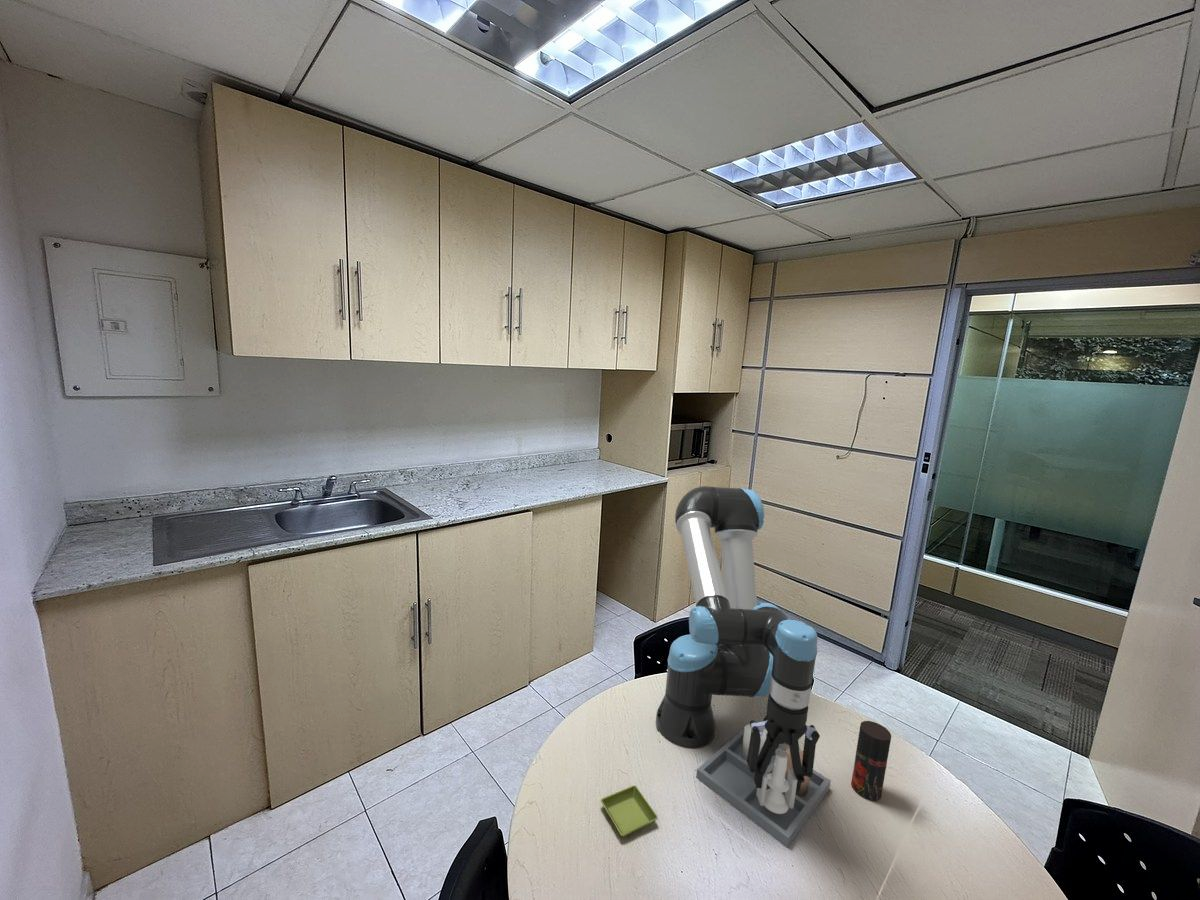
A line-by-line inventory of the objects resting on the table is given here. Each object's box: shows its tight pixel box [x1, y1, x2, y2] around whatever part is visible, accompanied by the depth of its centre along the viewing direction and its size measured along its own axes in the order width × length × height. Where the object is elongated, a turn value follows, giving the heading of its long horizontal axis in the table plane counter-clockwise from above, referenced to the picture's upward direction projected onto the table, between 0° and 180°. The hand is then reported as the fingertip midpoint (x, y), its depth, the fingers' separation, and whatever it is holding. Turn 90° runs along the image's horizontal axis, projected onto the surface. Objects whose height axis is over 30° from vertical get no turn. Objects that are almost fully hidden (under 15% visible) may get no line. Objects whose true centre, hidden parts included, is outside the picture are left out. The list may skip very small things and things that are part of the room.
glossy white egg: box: [741, 723, 767, 761], centre depth 111 cm, size 6×6×7 cm
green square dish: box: [600, 785, 659, 837], centre depth 95 cm, size 9×9×2 cm
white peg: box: [764, 748, 790, 814], centre depth 97 cm, size 5×5×12 cm
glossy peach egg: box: [784, 748, 810, 797], centre depth 104 cm, size 6×6×7 cm
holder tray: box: [695, 727, 832, 848], centre depth 105 cm, size 21×21×2 cm
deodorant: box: [850, 720, 892, 802], centre depth 104 cm, size 6×6×15 cm
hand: (774, 801), depth 98 cm, fingers closed on white peg, 5 cm apart
